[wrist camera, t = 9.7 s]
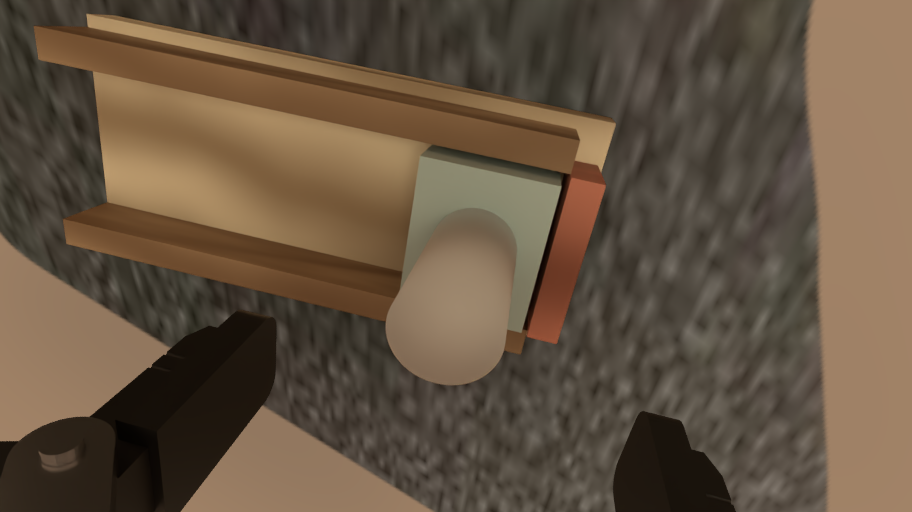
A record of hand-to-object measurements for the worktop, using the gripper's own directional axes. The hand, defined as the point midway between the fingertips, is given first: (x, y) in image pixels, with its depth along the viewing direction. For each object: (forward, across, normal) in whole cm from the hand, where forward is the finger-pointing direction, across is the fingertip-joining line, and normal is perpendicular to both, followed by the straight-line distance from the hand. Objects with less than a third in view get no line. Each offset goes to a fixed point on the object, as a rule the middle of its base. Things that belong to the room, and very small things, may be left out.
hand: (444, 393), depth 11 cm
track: (+13, +7, 0) cm, 15 cm away
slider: (+11, 0, 0) cm, 11 cm away
